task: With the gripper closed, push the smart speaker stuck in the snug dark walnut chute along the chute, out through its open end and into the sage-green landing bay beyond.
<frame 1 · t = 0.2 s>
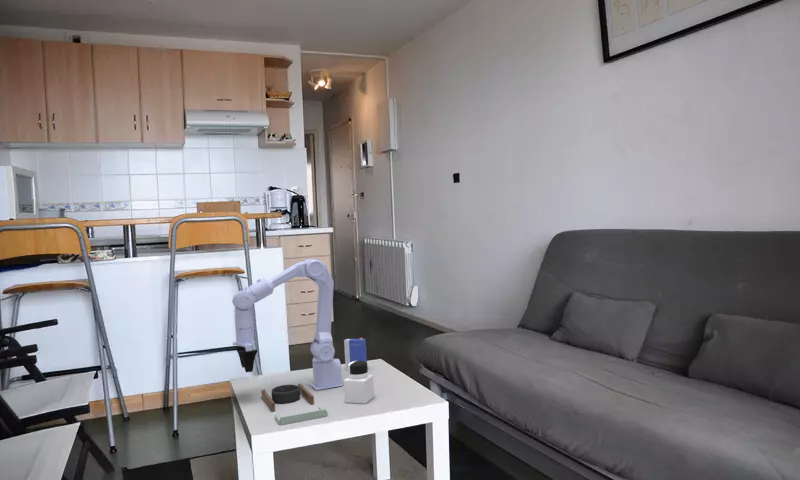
hand: (247, 369, 184), 10 cm above the table, fingers open, 7 cm apart
medicine bottle: (359, 400, 176), on the table
landing bay: (300, 416, 163), on the table
smart speaker: (286, 400, 180), on the table
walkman: (356, 370, 214), on the table
chute: (287, 400, 179), on the table
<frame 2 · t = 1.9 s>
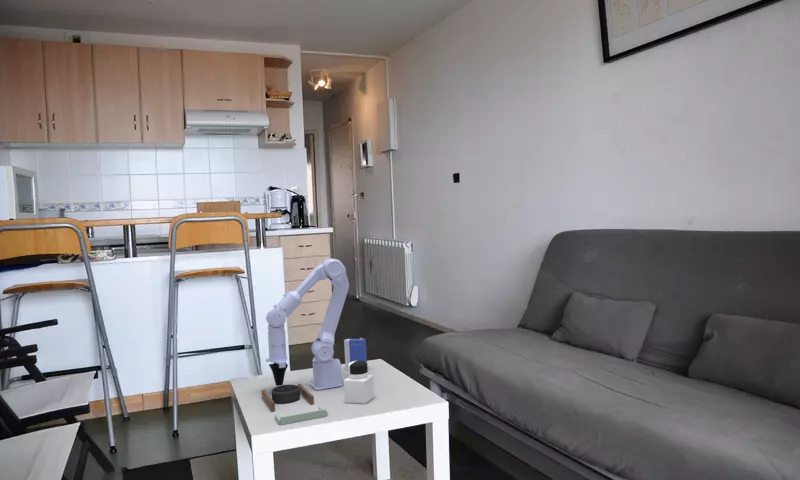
hand: (279, 385, 189), 3 cm above the table, fingers closed
nothing on the table moved.
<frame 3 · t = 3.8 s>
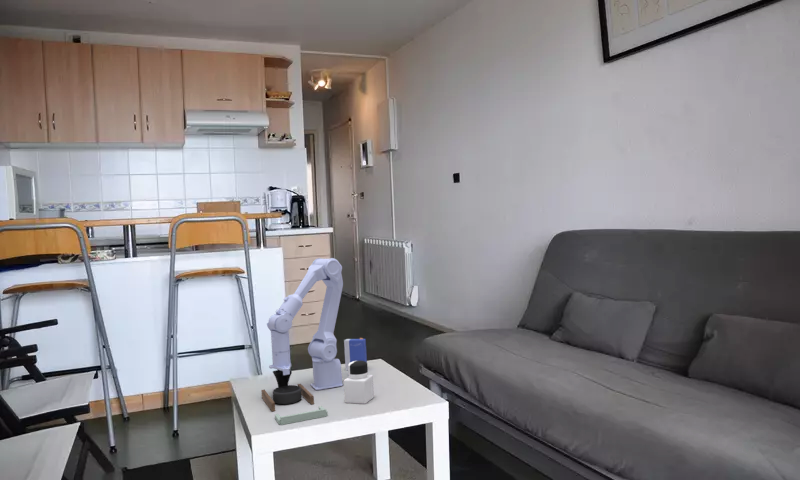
hand: (283, 392, 184), 1 cm above the table, fingers closed
smart speaker: (287, 401, 179), on the table, touching gripper
everything else where it was.
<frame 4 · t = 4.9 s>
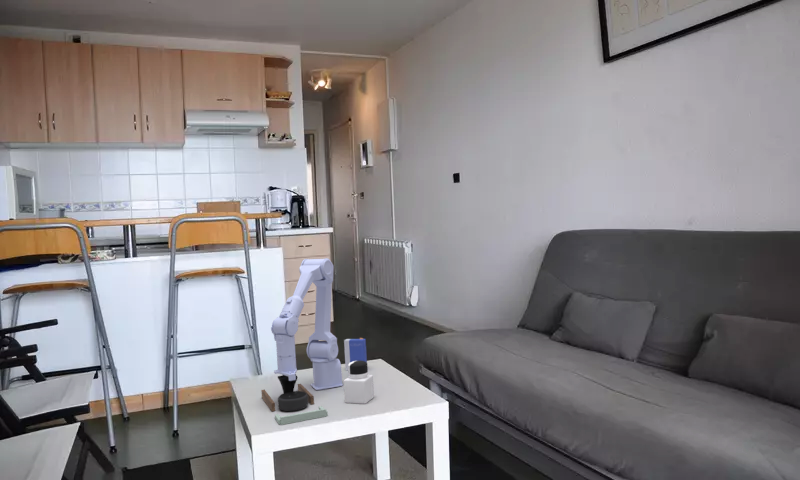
hand: (288, 398, 177), 1 cm above the table, fingers closed
smart speaker: (293, 408, 172), on the table, touching gripper
everything else where it was.
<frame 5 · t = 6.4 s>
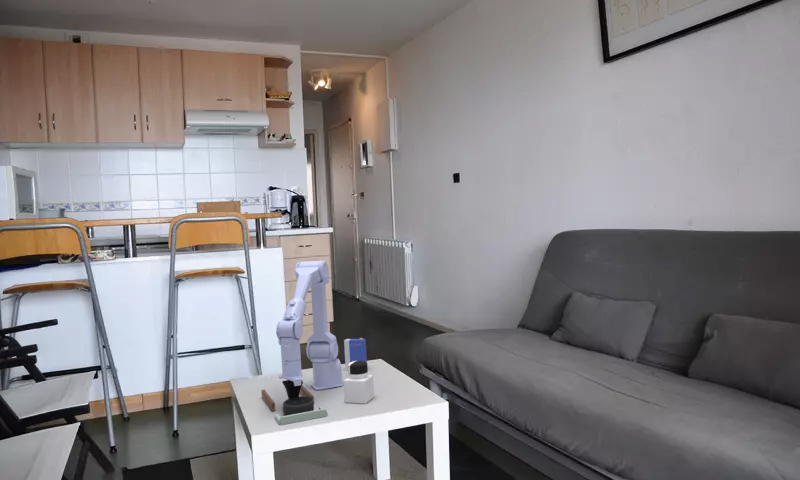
hand: (293, 404, 170), 1 cm above the table, fingers closed
smart speaker: (298, 414, 165), on the table, touching gripper
everything else where it was.
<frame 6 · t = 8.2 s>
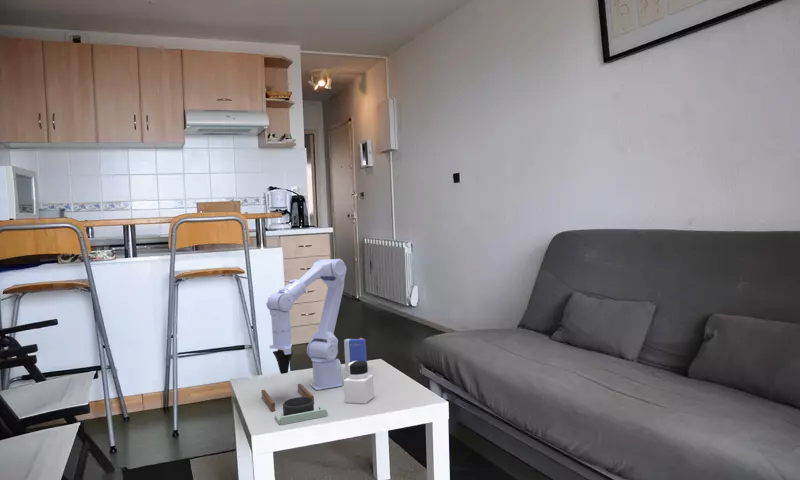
hand: (284, 373, 180), 9 cm above the table, fingers closed
smart speaker: (298, 415, 165), on the table
everything else where it was.
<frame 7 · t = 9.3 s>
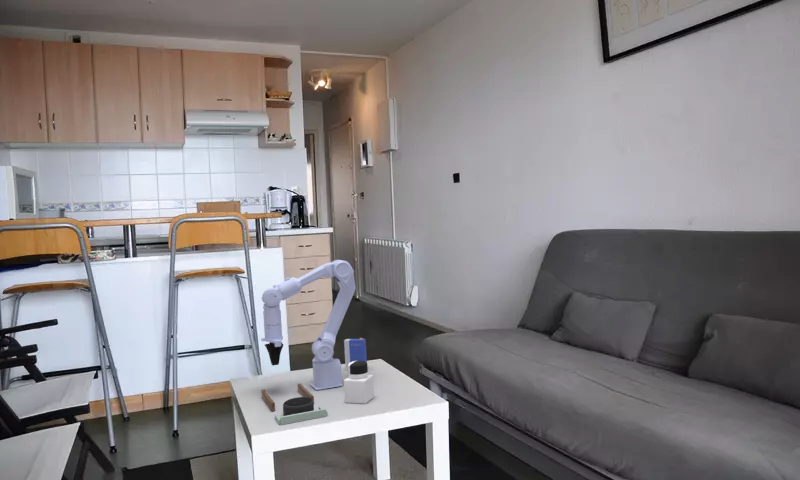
hand: (275, 364, 189), 9 cm above the table, fingers closed
nothing on the table moved.
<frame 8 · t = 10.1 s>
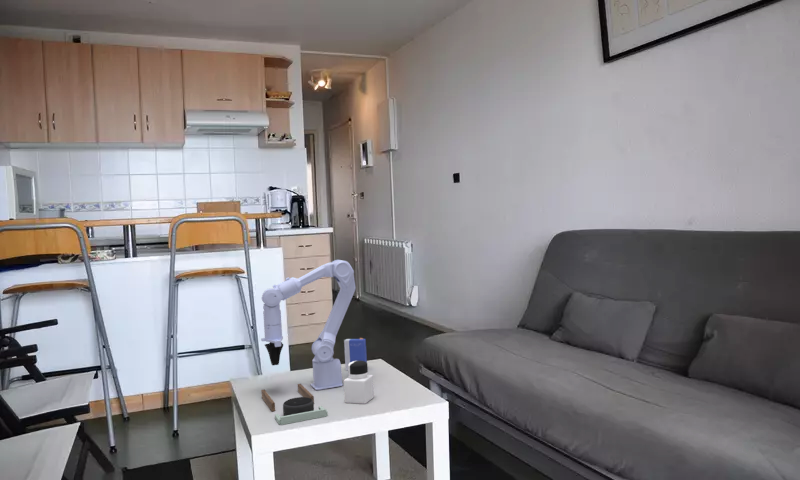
hand: (275, 364, 189), 9 cm above the table, fingers closed
nothing on the table moved.
at the end: smart speaker inside the target area (1.2 cm from its centre), on the table; smart speaker tilted 0° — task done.
